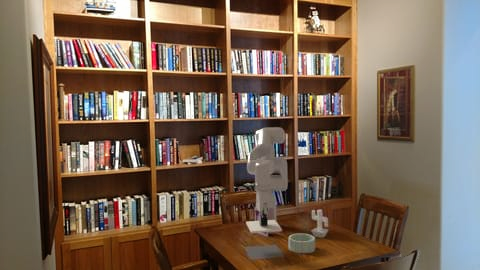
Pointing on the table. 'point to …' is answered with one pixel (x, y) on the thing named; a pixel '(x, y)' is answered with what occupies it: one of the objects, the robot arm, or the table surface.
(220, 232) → the table surface
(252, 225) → the lid
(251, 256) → the mat
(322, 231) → the figurine
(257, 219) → the greeting card
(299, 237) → the bowl
